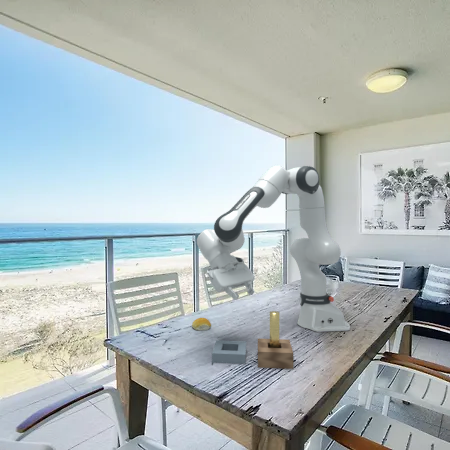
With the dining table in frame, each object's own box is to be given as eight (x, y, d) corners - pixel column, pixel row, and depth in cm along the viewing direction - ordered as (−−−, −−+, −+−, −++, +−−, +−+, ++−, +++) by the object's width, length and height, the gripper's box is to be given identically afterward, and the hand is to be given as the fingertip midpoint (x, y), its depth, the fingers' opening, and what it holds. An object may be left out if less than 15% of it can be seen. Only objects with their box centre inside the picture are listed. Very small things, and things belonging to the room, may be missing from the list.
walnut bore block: (289, 356, 109) (289, 339, 109) (293, 372, 98) (293, 353, 98) (257, 355, 110) (257, 338, 110) (257, 370, 100) (258, 351, 99)
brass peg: (278, 358, 106) (279, 311, 106) (279, 362, 103) (279, 314, 102) (269, 357, 106) (269, 310, 106) (269, 362, 103) (269, 313, 103)
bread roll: (208, 323, 145) (208, 314, 144) (212, 330, 136) (212, 321, 136) (190, 324, 143) (190, 316, 143) (193, 331, 134) (193, 322, 134)
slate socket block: (246, 352, 113) (246, 341, 113) (245, 366, 102) (245, 354, 102) (216, 351, 114) (216, 340, 114) (211, 365, 103) (211, 353, 103)
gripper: (209, 263, 109) (231, 296, 103) (244, 257, 124) (265, 286, 118) (200, 274, 112) (221, 307, 106) (236, 268, 127) (255, 295, 121)
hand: (244, 295), depth 112 cm, fingers open, 8 cm apart
